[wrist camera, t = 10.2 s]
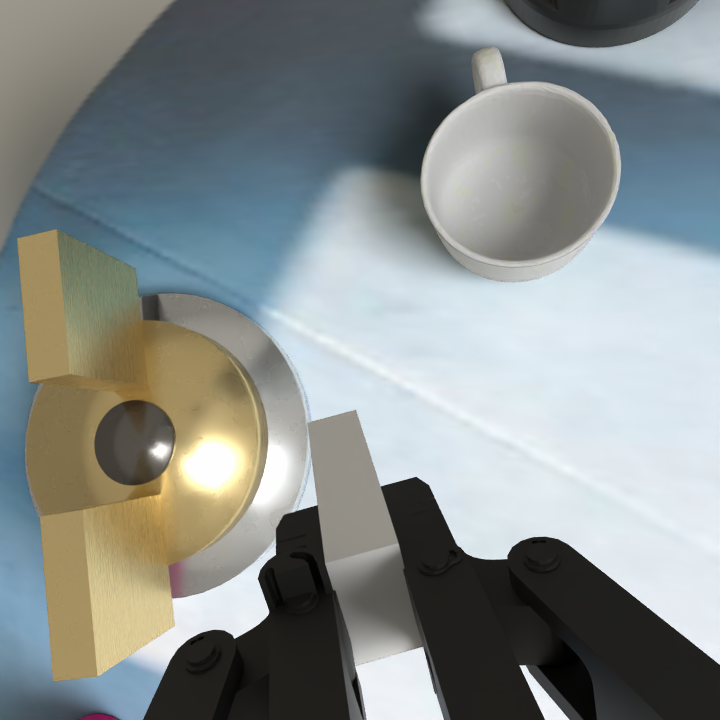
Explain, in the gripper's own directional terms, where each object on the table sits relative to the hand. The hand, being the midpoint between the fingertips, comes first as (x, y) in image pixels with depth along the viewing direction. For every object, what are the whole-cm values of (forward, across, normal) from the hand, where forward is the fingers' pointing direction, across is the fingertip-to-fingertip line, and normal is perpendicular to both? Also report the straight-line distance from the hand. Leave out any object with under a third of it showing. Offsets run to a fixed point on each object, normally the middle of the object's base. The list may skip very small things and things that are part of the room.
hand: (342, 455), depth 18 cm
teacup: (+25, +15, +2) cm, 29 cm away
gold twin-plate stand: (+23, -12, -8) cm, 27 cm away
